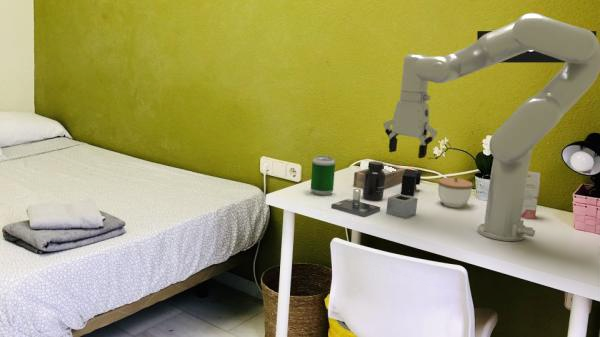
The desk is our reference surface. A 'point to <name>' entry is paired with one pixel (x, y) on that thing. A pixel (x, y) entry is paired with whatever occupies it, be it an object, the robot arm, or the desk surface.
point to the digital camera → (410, 182)
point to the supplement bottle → (374, 182)
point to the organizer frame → (390, 177)
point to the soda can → (322, 175)
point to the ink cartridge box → (531, 195)
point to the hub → (401, 206)
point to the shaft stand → (356, 205)
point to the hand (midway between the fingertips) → (406, 154)
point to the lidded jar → (454, 191)
